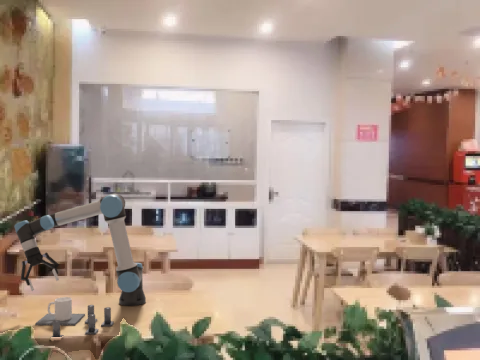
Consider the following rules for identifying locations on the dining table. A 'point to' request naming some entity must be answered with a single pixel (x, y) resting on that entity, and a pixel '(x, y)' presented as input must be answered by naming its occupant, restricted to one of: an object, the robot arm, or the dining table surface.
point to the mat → (49, 320)
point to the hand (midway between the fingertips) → (45, 285)
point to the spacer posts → (88, 322)
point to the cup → (62, 308)
